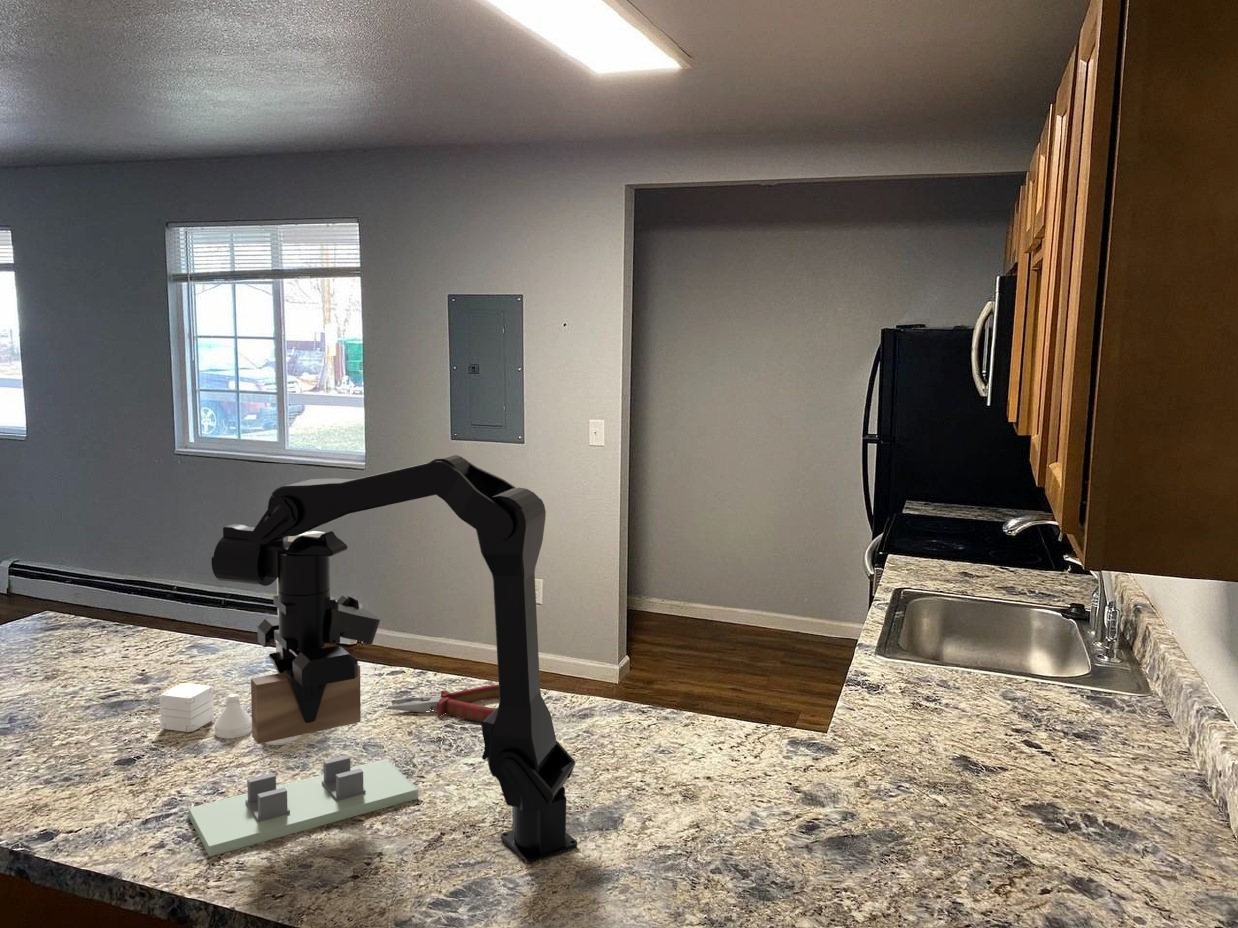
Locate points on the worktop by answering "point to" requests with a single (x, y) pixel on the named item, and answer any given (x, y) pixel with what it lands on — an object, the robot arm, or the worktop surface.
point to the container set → (206, 712)
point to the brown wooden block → (283, 717)
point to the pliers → (452, 703)
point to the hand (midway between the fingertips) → (306, 717)
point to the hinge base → (299, 804)
